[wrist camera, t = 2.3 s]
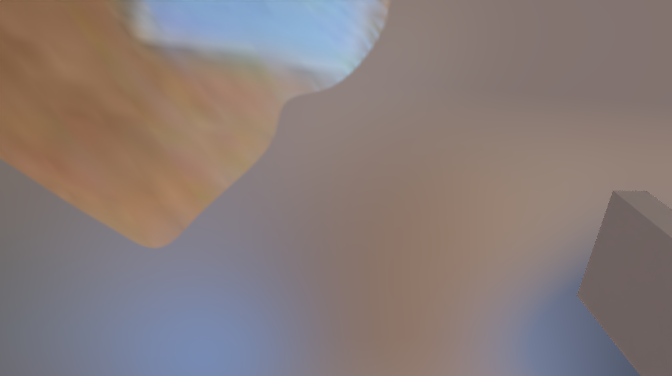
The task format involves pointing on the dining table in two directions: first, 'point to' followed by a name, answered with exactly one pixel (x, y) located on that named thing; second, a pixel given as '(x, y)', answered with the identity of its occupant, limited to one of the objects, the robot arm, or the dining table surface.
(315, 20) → the dining table surface
